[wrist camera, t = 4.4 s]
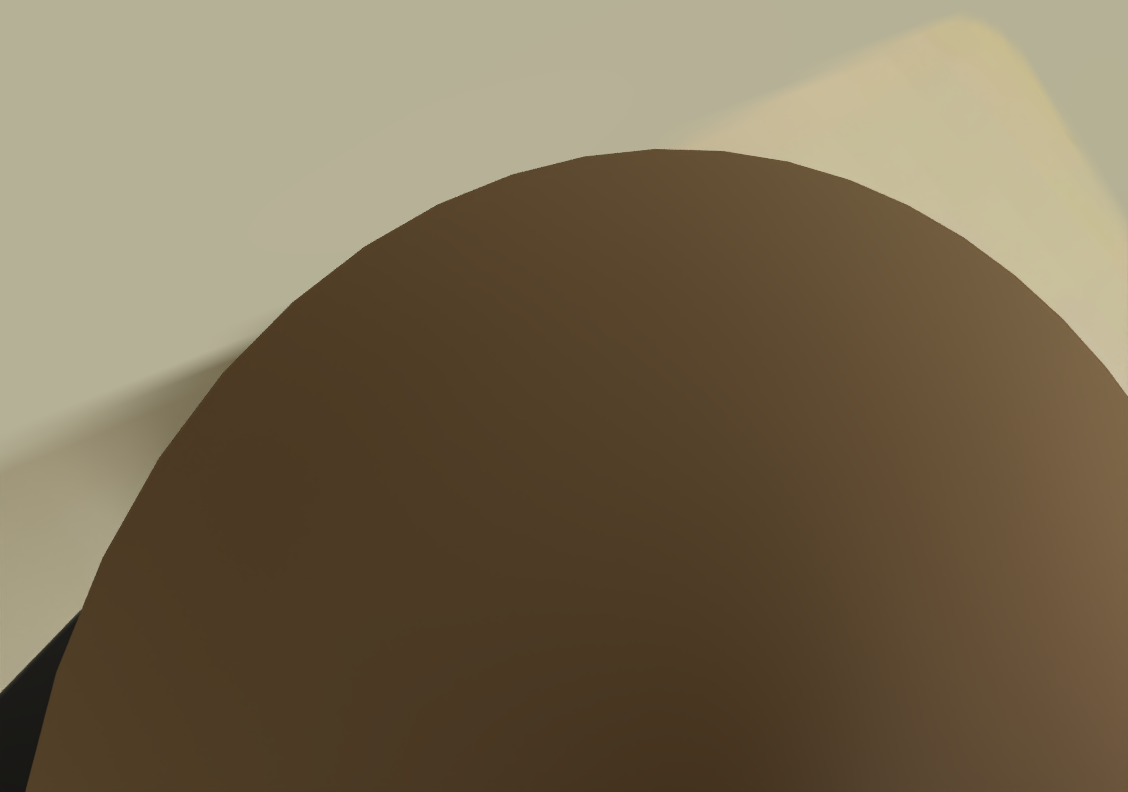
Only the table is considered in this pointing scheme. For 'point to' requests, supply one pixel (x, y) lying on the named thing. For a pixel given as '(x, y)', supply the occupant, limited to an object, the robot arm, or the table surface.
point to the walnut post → (627, 515)
